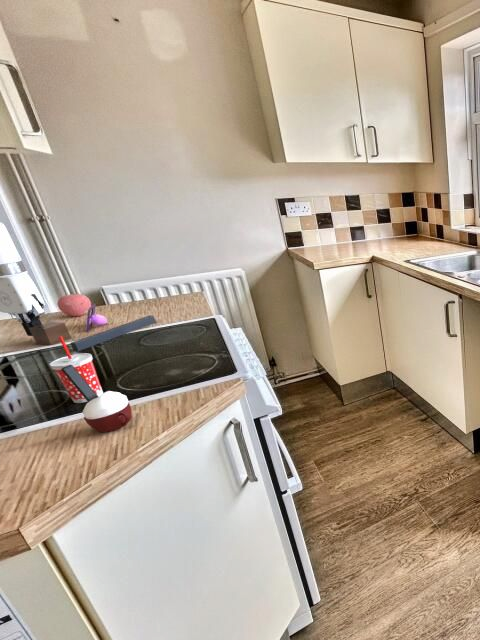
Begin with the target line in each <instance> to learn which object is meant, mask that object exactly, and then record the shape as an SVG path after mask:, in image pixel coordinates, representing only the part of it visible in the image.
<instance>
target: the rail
mask: <svg viewBox="0 0 480 640" xmlns="http://www.w3.org/2000/svg"><path fill="white" fill-rule="evenodd" d="M155 323H157V321H156V318H155V316H154V315H147V316H144V317H140V318H137V319H135V320H131V321H129V322H126V323H123V324H121V325H118V326H115V327H111V328H109V329H106V330H104V331H101V332H98V333H94V334H92V335H89V336H87V337H84V338H80V339H78V340H74V341H72V342H70V347H71V348H72V350H73V352H79V351H83V350H86V349H88V348H91V347H94V346H96V345H99V344H102V343H105V342H107V341H110V340H112V339H116V338H118V337H121V336H123V335H126V334H129V333H131V332H134V331H137V330H140V329H142V328H146V327H148V326H151V325H153V324H155Z"/></svg>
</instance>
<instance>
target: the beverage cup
mask: <svg viewBox="0 0 480 640" xmlns="http://www.w3.org/2000/svg"><path fill="white" fill-rule="evenodd" d="M59 339H60V341H61V342H60V343H61V346H62V347H63V350H64V352H65V354H66V356H62V357H59V358H57V359H56V358H55V360H53V361H51V362H50V363H49V364H48V365H49V366H50V368H51V369H52V370H54V372H55V373H56V375H57V377H58V378H59V380H60V382H61V383H62V385H63V387H64V388H65V390H66V392H67V393H68V395H69V397H70V399H71V400H72V402H73V403H75V404H82V403H88V401H87V400H86V399H85V398H84V397H83V395H82V394H81V393H80V392H79V391H78V389H77V388H76V387H75V386H74V385H73V383H72V382H71V381H70V380H69V379H68V377H67V376H66V375H65V374H64V373H63V371H62V370H61V369H62V368H63V367H66V366H68V365H73V366H74V368H75V369H76V370H77V371H78V373H79V374H80V375H81V376H82V377H83V379H84V380H85V381H86V382H87V383H88V385H89V386H90V387H91V388H92V389H93V391H94V392H95V393H96V394H97V396H98V397H100V396H101V395H102V394H103V393H104V391H103V388H102V386H101V385H102V384H101V383H100V379H99V377H98V374H97V371H96V368H95V365H94V362H93V355H92V354H91V353H86V352H84V353H76V354H71V353H70V350H69V349H68V346H67V344H66V342H65V341H64V340H63V338H62V336H59Z"/></svg>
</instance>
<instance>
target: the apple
mask: <svg viewBox="0 0 480 640" xmlns="http://www.w3.org/2000/svg"><path fill="white" fill-rule="evenodd" d="M91 306H92V302H91V299H90V298H89V297H88V296H86V295H85V294H82V293H72V292H70V294H65V295H62V296H61V297H59V298H58V300H57V307H58V309H59V310H60V311H61V312H62V313H63V314H65V315H67V316H69V317H73V318H74V317H82V316H85V315H86V314H85V311H88V310H89V308H90V307H91Z"/></svg>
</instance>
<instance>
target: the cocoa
mask: <svg viewBox="0 0 480 640" xmlns="http://www.w3.org/2000/svg"><path fill="white" fill-rule="evenodd" d="M61 370H62V371H63V373H64V374H65V375H66V376H67V377H68V379H69V380H70V381H71V382H72V383H73V385H74V386H75V387H76V388H77V389H78V391H79V392H80V393H81V394H82V395H83V397H84V398H85V399H86V400H87V401H88V402H86V404H85V406H84V408H83V410H82V414H83V419H84V421H85V422H86V424H87V425H88V426H89V427H90V428H92V429H93V430H95V431H97V432H99V433H109V432H114V431H117V430H120V429H122V428H123V427H125V426H127V424H129V423H130V422H131V420H132V416H133V413H132V407H131V404H130V402H129V399H128V397H127V395H125V394H122V393H121V392H118V391H111V390H106V391H105V392H103V394H102V395H101V396H100V397H98V396H97V394H96V393H95V392H94V391H93V389H92V388H91V387H90V386H89V385H88V383H87V382H86V381H85V380H84V379H83V377H82V376H81V375H80V374H79V373H78V371H77V370H76V369H75V368H74V366H73V365H68V366H66V367H63V368H62V369H61Z"/></svg>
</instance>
